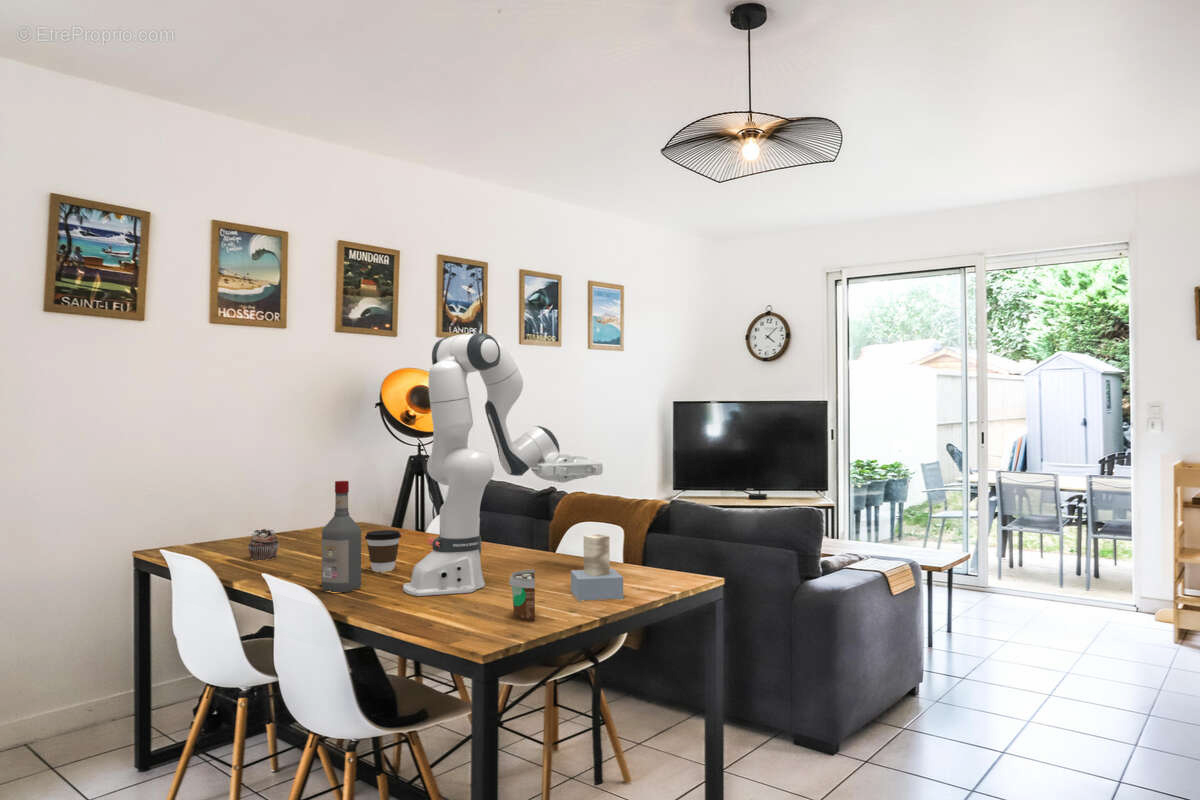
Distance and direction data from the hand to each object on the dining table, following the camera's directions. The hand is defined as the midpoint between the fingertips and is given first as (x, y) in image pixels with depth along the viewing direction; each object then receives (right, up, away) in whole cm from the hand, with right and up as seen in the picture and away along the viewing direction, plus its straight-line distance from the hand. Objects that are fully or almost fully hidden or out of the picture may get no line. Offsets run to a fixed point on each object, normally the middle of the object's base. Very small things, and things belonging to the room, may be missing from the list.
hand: (581, 470), depth 228 cm
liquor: (-66, -32, -12) cm, 75 cm away
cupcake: (-109, -33, +35) cm, 119 cm away
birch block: (+5, -26, -20) cm, 33 cm away
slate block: (+5, -32, -20) cm, 38 cm away
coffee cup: (-62, -33, +14) cm, 71 cm away
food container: (-13, -31, -42) cm, 54 cm away
